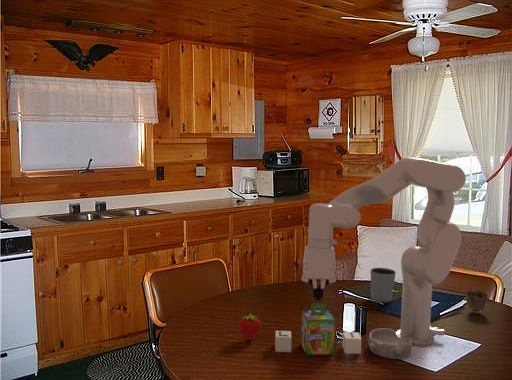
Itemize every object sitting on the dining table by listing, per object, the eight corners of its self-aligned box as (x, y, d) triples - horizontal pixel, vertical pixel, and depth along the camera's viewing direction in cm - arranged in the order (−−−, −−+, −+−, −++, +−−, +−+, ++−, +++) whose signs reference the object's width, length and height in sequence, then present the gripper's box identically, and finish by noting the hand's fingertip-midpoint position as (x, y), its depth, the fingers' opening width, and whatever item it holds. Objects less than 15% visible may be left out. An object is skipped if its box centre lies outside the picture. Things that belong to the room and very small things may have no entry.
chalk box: (306, 356, 162) (307, 310, 160) (300, 344, 171) (301, 300, 169) (335, 355, 163) (336, 309, 161) (327, 342, 172) (329, 299, 170)
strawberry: (237, 337, 176) (237, 308, 175) (259, 335, 177) (259, 307, 176) (239, 344, 170) (239, 315, 169) (262, 343, 171) (262, 313, 170)
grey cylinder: (364, 296, 220) (365, 268, 218) (383, 293, 224) (384, 266, 222) (379, 304, 211) (381, 275, 209) (399, 300, 215) (400, 272, 213)
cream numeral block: (357, 347, 169) (358, 332, 169) (360, 353, 165) (361, 338, 164) (342, 346, 170) (343, 331, 169) (344, 353, 165) (345, 338, 164)
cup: (482, 310, 205) (483, 290, 204) (488, 316, 198) (490, 296, 197) (462, 309, 206) (464, 289, 205) (468, 316, 199) (469, 295, 198)
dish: (379, 338, 177) (379, 324, 176) (418, 350, 168) (419, 335, 167) (358, 352, 166) (359, 337, 165) (399, 365, 157) (400, 350, 156)
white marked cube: (290, 345, 170) (290, 330, 169) (291, 352, 165) (291, 336, 164) (275, 345, 170) (275, 330, 169) (275, 352, 165) (275, 336, 164)
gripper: (342, 241, 166) (339, 296, 169) (295, 239, 167) (293, 295, 169) (345, 246, 159) (343, 304, 161) (297, 245, 159) (294, 302, 161)
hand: (317, 299), depth 165 cm, fingers closed
